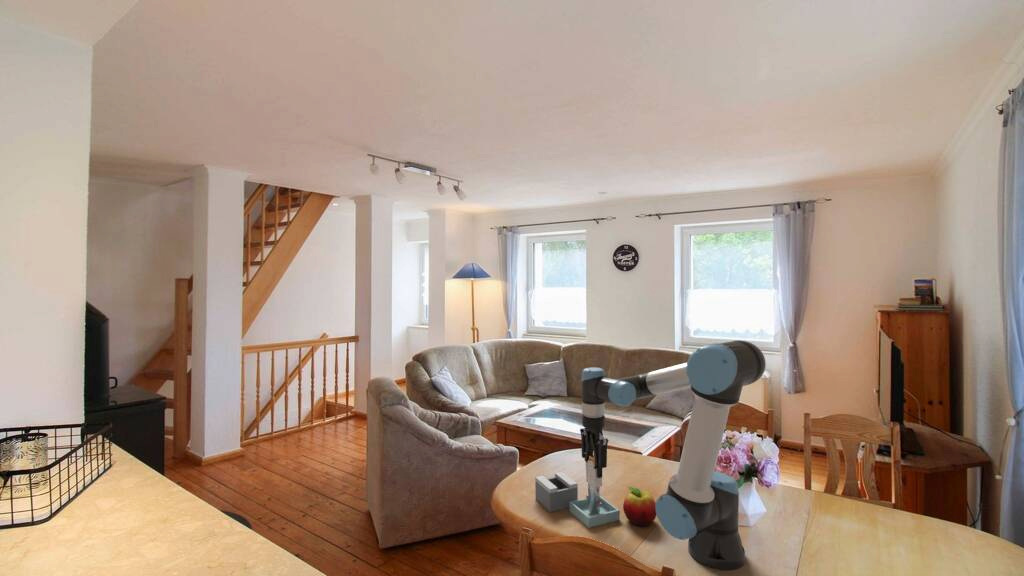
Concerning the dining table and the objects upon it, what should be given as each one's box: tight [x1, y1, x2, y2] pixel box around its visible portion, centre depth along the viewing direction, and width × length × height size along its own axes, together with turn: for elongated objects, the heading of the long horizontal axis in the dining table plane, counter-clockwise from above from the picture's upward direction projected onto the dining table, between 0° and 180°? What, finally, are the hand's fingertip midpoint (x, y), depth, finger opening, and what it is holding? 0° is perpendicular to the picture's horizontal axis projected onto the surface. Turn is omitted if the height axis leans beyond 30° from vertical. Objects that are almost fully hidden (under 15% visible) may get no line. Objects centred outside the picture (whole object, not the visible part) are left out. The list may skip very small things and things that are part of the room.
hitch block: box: [534, 471, 579, 513], centre depth 171 cm, size 11×11×8 cm
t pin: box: [585, 454, 602, 513], centre depth 161 cm, size 7×4×18 cm, turn 24°
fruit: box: [622, 486, 657, 527], centre depth 157 cm, size 11×11×10 cm
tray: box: [568, 495, 621, 529], centre depth 162 cm, size 12×12×3 cm
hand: (594, 483), depth 161 cm, fingers closed on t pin, 4 cm apart
